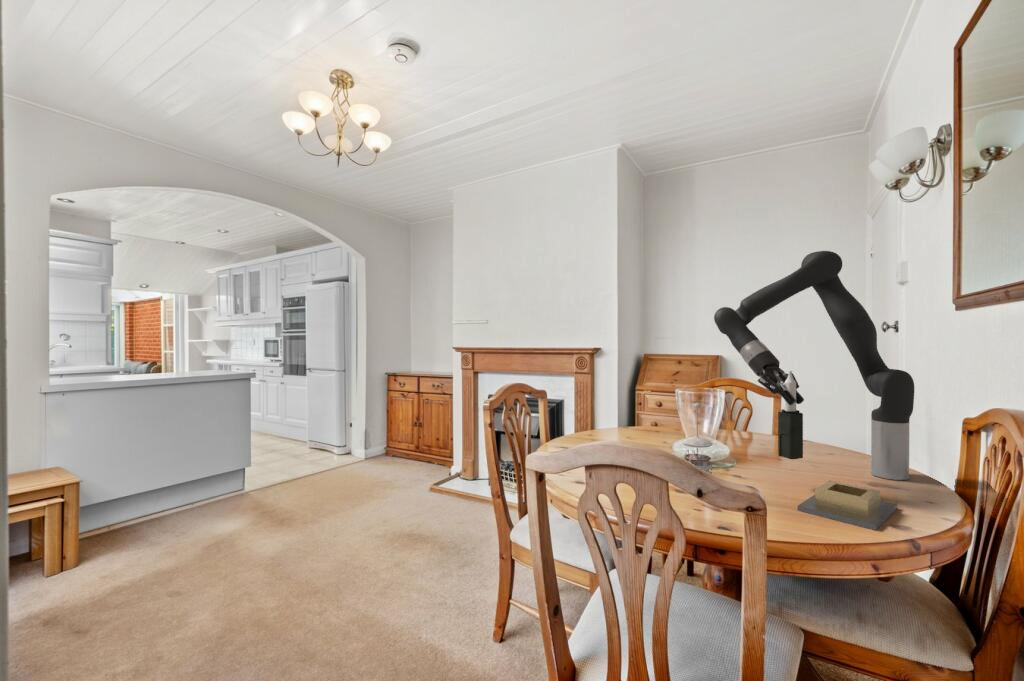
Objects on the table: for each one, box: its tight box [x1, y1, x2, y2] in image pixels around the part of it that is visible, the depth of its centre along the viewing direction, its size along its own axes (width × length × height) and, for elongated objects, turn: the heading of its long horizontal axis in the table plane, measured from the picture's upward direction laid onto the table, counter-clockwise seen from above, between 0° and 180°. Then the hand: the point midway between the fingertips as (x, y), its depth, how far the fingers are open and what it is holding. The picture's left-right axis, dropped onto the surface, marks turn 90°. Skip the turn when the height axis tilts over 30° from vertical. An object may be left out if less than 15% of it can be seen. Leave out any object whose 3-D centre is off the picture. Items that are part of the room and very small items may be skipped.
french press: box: [682, 402, 713, 475], centre depth 134 cm, size 10×12×25 cm
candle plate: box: [797, 479, 898, 531], centre depth 119 cm, size 20×16×5 cm
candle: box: [777, 370, 804, 460], centre depth 137 cm, size 5×5×25 cm
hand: (797, 402), depth 135 cm, fingers closed on candle, 3 cm apart
